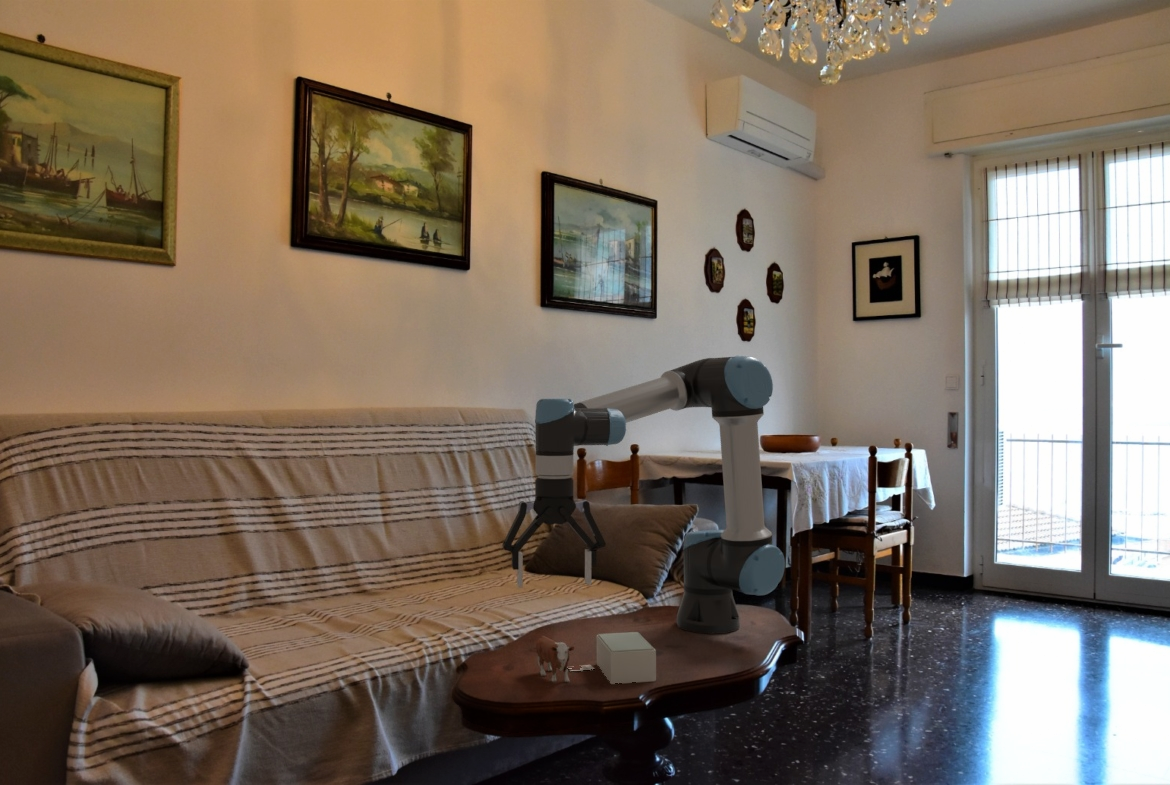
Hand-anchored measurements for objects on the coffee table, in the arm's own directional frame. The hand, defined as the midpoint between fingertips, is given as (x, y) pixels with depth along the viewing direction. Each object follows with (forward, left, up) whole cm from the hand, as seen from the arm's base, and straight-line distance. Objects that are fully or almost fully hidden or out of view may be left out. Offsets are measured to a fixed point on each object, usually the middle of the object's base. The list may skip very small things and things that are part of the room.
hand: (554, 584), depth 172 cm
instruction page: (-6, -5, -18) cm, 20 cm away
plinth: (-15, -1, -18) cm, 23 cm away
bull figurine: (0, 0, -19) cm, 19 cm away
